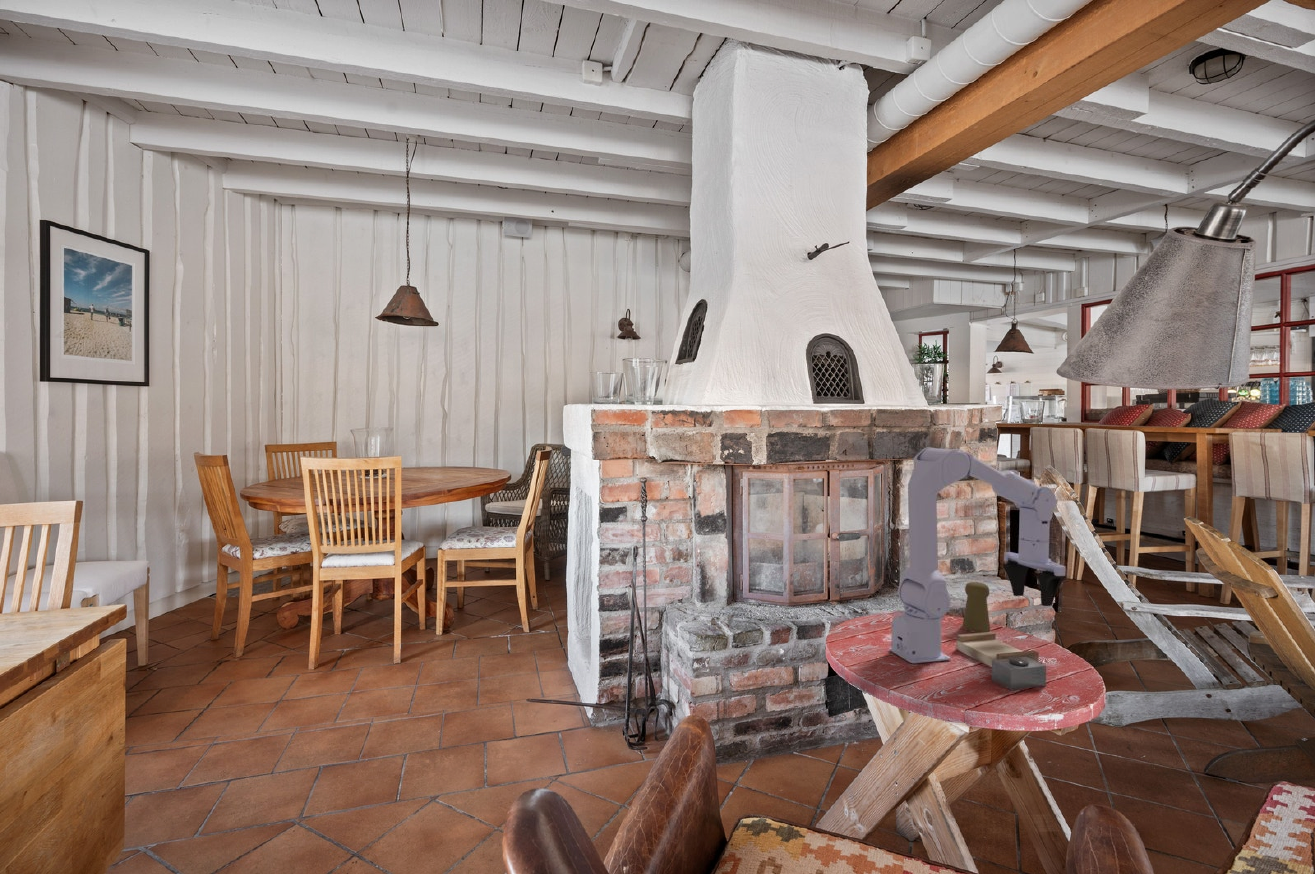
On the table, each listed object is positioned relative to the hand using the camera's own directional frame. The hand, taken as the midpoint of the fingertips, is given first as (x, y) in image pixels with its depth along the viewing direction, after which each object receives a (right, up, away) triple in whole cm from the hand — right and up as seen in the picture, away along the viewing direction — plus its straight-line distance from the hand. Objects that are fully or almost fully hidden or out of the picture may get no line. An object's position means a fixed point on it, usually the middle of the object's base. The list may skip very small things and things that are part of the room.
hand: (1032, 600), depth 137 cm
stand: (-12, -10, -8) cm, 18 cm away
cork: (-7, -10, +11) cm, 16 cm away
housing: (-14, -11, -20) cm, 27 cm away
